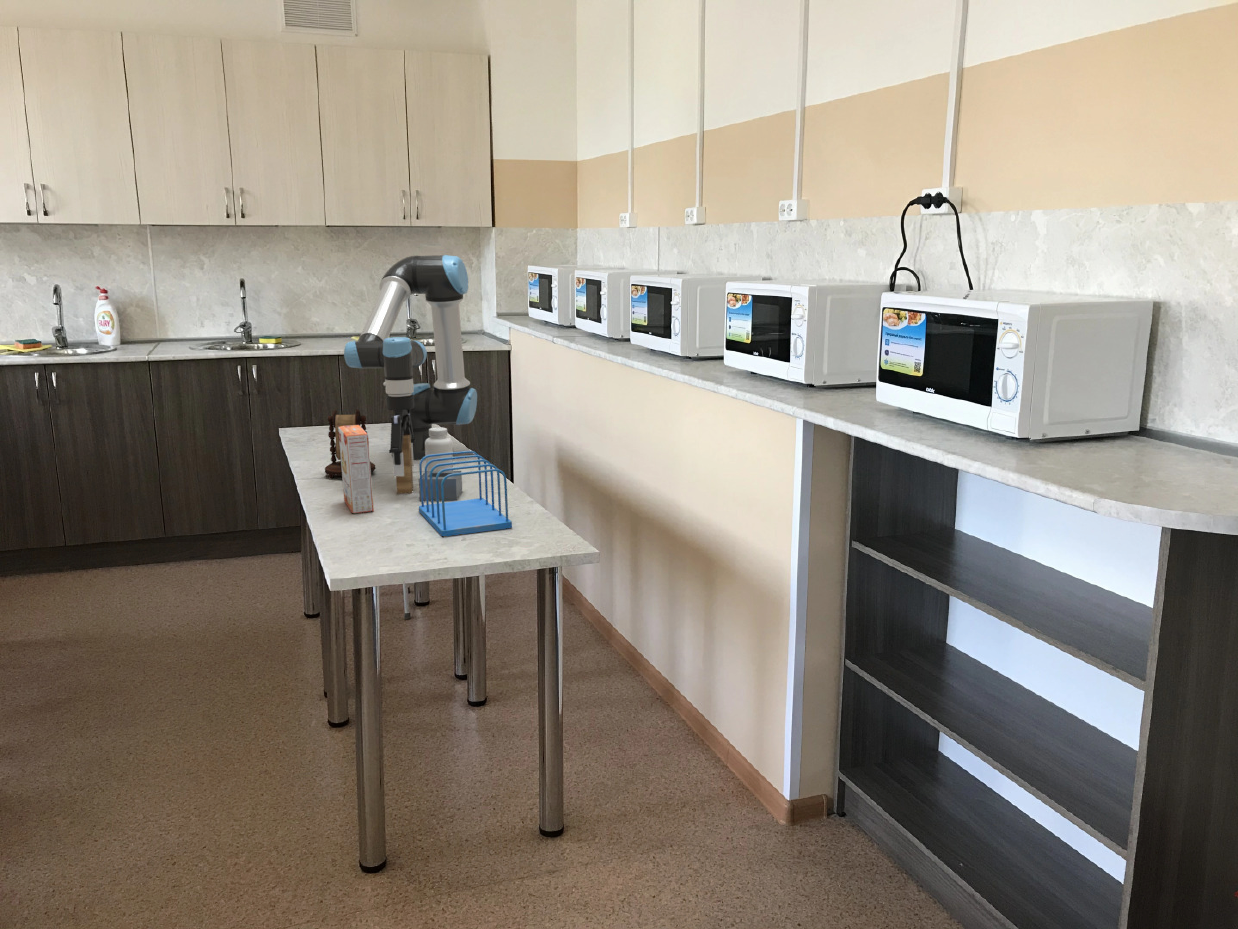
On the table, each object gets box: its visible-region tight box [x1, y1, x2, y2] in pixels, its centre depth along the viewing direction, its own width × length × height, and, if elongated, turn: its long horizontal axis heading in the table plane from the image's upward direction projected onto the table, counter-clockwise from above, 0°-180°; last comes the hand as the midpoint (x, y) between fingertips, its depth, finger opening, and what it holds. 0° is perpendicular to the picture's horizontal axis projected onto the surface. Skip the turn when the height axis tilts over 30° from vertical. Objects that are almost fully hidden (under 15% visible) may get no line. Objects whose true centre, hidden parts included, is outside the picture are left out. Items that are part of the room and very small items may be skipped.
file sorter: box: [418, 450, 513, 537], centre depth 246 cm, size 25×17×15 cm
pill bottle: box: [424, 426, 454, 471], centre depth 290 cm, size 8×8×15 cm
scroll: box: [324, 408, 377, 480], centre depth 296 cm, size 15×15×20 cm
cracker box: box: [338, 425, 374, 514], centre depth 259 cm, size 14×6×21 cm, turn 23°
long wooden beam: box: [395, 435, 414, 494], centre depth 275 cm, size 3×4×16 cm
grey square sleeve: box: [418, 470, 463, 502], centre depth 271 cm, size 10×10×6 cm
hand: (404, 470), depth 275 cm, fingers open, 12 cm apart
